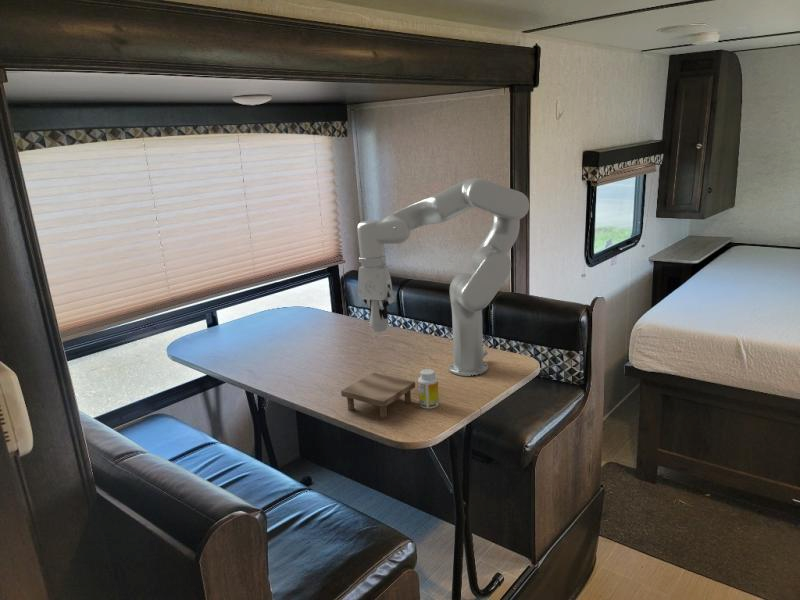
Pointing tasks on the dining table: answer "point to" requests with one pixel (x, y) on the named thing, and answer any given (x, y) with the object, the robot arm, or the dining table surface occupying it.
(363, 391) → the small wooden table
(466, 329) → the robot arm
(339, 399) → the dining table surface
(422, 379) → the supplement bottle
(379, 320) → the salt shaker
